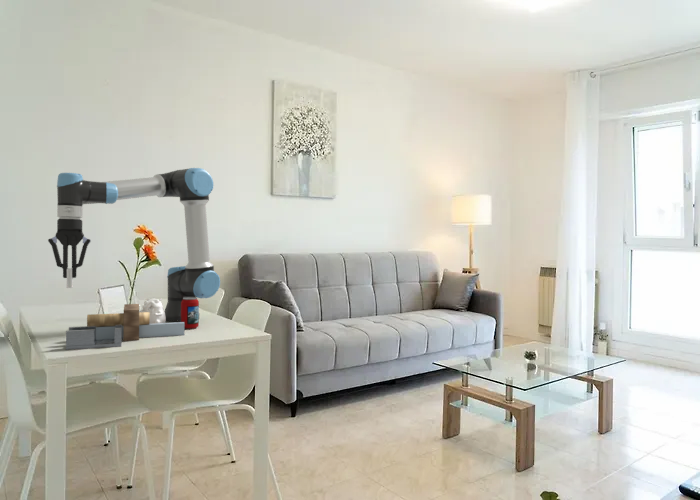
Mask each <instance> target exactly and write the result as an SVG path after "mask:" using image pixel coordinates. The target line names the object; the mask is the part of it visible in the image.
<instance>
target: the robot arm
mask: <svg viewBox="0 0 700 500" xmlns="http://www.w3.org/2000/svg"><path fill="white" fill-rule="evenodd" d="M56 180H57V181H56V188H57V191H56V192H57V210H56V211H57V213H56V214H57V216H56V217H57V218H58V219H57V227H56V228H57V229H56V230H57V231H56V233H55V235H54V236H53V237H52V238H49V239H47V241H48V243H49V244H50V246H51V249H52V252H53V256H54V260H55V263H56V266H57V267H58V268H61V269H62V272H63V273H62V277H63V279H66V288H67V289H72V288H73V286H74V279H75V278H77V269H78V268H81V267H82V266H83V263H84V261H85V260H84V259H85V257H86V253H87V249H88V246H89V244H90V243H91V242H92V240H91V239H90V238H88V237H86V236H85V234H84V232H83V220H82V218H83V206H84V205H92V204H106V205H107V204H108V205H109V204H110V205H112V204H115V203H116V202H117V201H120V200H129V199H137V198H138V199H139V198H146V197H155V196H156V197H158V198H168V197H169V198H179V202H180V203H181V204H182V205H183V207H184V209H183V210H184V219H185V220H184V221H185V233H186V234H185V236H186V248H187V249H186V250H187V262H188V263H186V265H184V266H174V267H173V266H172V267H170V268H169V269H168V270H167V276H166V278H167V301H166V306H165V309H164V311H165V315H166V322H181V302H182V300H183V298H186V297H196V298H197V299H209V298H211V297H213V296H215V294H216V293H217V292H218V291H219V289H220V286H221V277H220V275H219V274H217V272H216V271H215V265H214V263H212V262H211V260H210V250H209V249H210V248H209V235H208V234H209V233H208V221H207V220H208V219H207V218H208V217H207V207H206V205H207V204H208V203H209V201H210V194H211V193H212V191H213V189H214V180H213V177H212V175H211V174H210V173H209V171H207V170H206V169H204V168H201V167H200V168H199V167H190V168H183V169H177V170H176V169H175V170H173V171H169V172H165V173H157V174H155V175H154V176H153V177H142V178H141V177H140V178H130V179H120V180H112V181H111V180H109V181H92V180H91V181H89V180H84V177H83V175H82V174H81V173H76V172H60V173H59V174H58V175H57V179H56ZM58 241H59V243H60V244H61V245H62V260H61V256H60V252H59V248H58V245H57V243H58ZM81 242H82V244H83V245H82V248H81V251H80V255H79V259H78V260H77V258H78V257H77V255H78V254H77V249H78V248H77V246H78V245H79V243H81ZM69 246H71V267H69V265H68V264H69ZM77 262H78V263H77Z"/></svg>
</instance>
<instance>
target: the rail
mask: <svg viewBox="0 0 700 500" xmlns="http://www.w3.org/2000/svg"><path fill="white" fill-rule="evenodd" d="M123 332H124V326H122V340H123ZM184 335H185V329H184V322H181V321H174V322H165V323H155V324H147V325H139V339H140V338H153V337H155V338H157V337H171V336H172V337H174V336H175V337H176V336H184ZM100 339H115V326H106V327H96V340H100Z"/></svg>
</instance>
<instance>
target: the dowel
mask: <svg viewBox="0 0 700 500" xmlns="http://www.w3.org/2000/svg"><path fill="white" fill-rule="evenodd" d="M147 324H150V313H149V312H141V313H139V325H147ZM115 325H122V326H124V312H121V313H119V312H118V313H98V314H97V313H94V314H87V318H86V326H96V327H106V326H115Z"/></svg>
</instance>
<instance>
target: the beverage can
mask: <svg viewBox="0 0 700 500" xmlns="http://www.w3.org/2000/svg"><path fill="white" fill-rule="evenodd" d="M199 308H200V301H199V299H198V298H197V297H186V298H183V300H182V302H181V321H180V322H184V330H193V329H197V328H198V327H199V322H200V321H199V319H200V309H199Z"/></svg>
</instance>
